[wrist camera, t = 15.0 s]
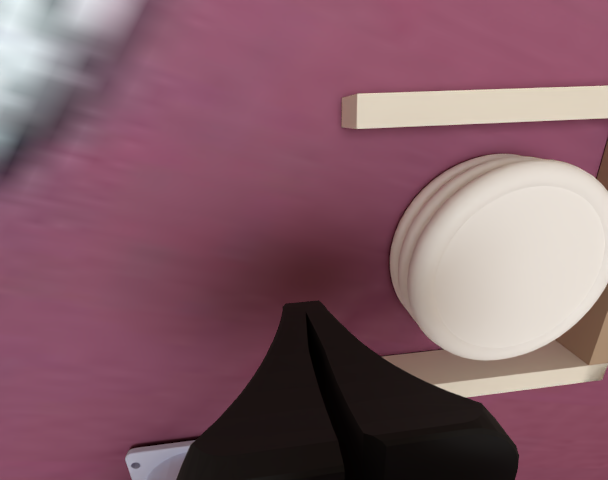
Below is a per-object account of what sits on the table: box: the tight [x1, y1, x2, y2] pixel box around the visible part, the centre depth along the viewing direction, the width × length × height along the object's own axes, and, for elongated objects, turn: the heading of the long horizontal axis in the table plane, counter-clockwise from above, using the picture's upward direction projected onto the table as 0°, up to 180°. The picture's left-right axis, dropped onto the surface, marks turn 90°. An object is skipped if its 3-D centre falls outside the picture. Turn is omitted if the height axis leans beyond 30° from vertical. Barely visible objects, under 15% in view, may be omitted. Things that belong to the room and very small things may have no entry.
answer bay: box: [342, 86, 608, 397], centre depth 16 cm, size 15×15×2 cm
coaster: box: [390, 154, 608, 361], centre depth 16 cm, size 10×10×4 cm
